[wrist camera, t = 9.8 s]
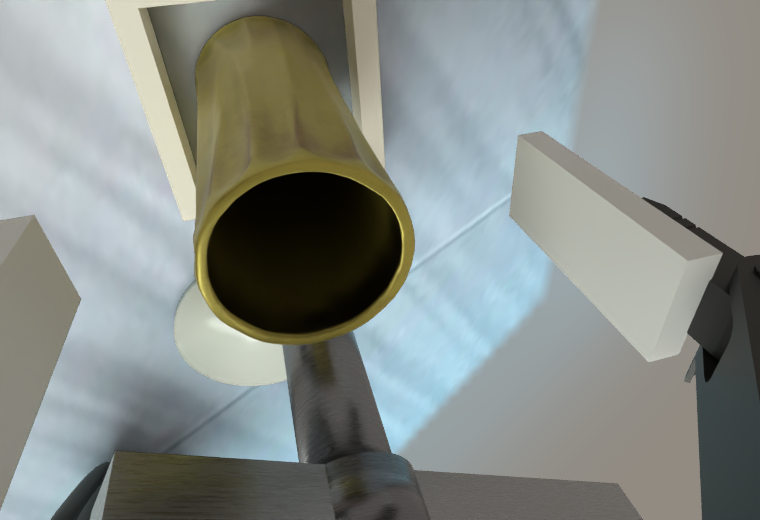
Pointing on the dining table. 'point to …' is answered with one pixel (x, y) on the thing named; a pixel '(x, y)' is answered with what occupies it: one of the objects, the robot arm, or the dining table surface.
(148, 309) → the dining table surface
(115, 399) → the dining table surface
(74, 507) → the mug
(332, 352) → the post
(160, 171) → the dining table surface
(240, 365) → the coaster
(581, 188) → the robot arm
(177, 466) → the bar
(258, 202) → the vase
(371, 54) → the cream rectangular frame
